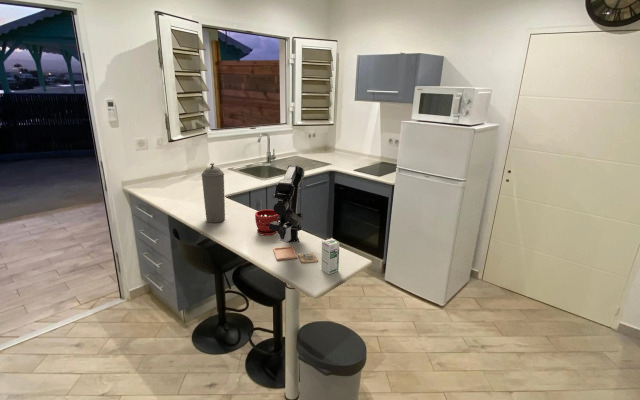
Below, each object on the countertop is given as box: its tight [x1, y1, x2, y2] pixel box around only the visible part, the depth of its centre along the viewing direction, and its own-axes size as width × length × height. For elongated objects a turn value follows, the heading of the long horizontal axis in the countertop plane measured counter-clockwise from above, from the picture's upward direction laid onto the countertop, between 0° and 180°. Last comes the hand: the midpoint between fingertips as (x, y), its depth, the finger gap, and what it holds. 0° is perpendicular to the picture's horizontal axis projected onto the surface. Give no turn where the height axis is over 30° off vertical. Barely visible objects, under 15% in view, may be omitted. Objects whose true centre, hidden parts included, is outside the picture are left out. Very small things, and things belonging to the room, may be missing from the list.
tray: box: [272, 245, 298, 261], centre depth 173 cm, size 12×10×1 cm
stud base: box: [297, 251, 319, 264], centre depth 169 cm, size 8×8×2 cm
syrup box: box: [320, 237, 340, 275], centre depth 157 cm, size 6×6×14 cm
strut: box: [278, 225, 291, 243], centre depth 170 cm, size 4×4×7 cm
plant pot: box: [254, 209, 280, 237], centre depth 196 cm, size 13×13×12 cm
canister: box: [201, 162, 226, 224], centre depth 207 cm, size 13×13×35 cm
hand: (285, 237), depth 171 cm, fingers closed on strut, 4 cm apart
